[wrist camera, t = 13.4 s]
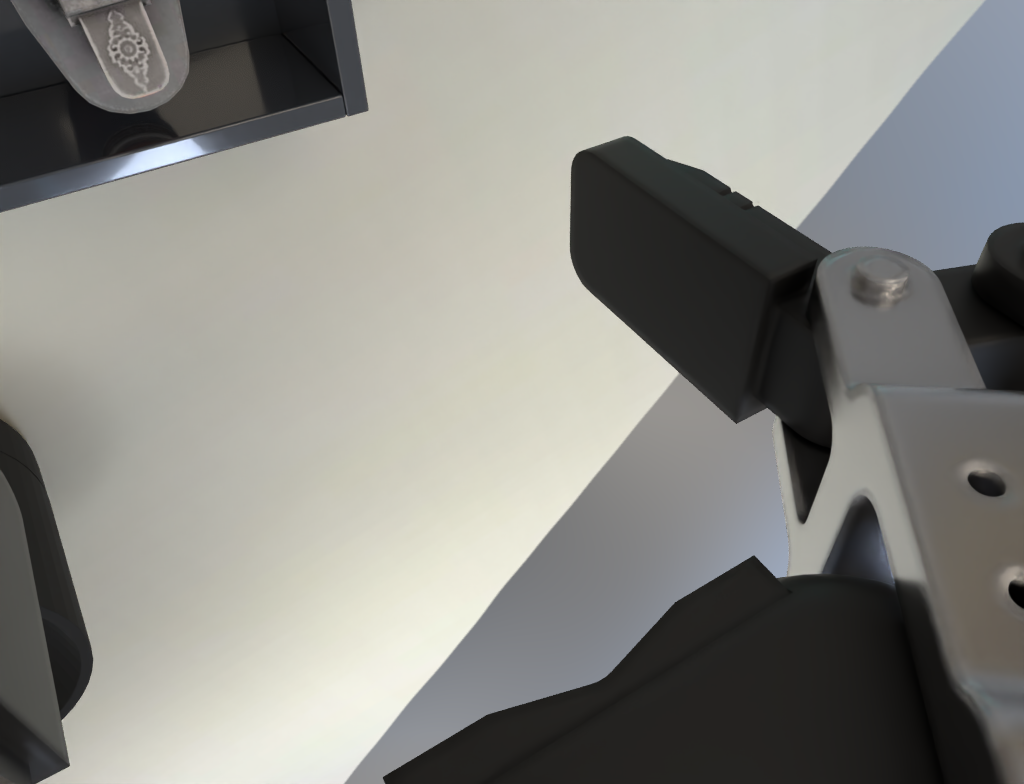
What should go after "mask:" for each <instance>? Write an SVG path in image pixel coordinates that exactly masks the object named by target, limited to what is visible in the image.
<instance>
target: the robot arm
mask: <svg viewBox="0 0 1024 784" xmlns="http://www.w3.org/2000/svg"><path fill="white" fill-rule="evenodd" d="M570 253H571V259H572V263H573V266H574V269H575V271H576V273H577V275H578V277H579V279H580V281H581V282H582V284H583V285H584V286H585V287H586V288H587V289H588V290H589V291H590V292H591V293H592V294H593V295H594V296H595V297H596V298H597V299H599V300H600V301H601V302H602V303H603V304H604V305H605V306H606V307H607V308H609V309H610V310H611V311H612V312H613V313H614V314H615V315H616V316H617V317H619V318H620V319H621V320H622V321H623V322H624V323H625V324H626V325H627V326H628V327H630V328H631V329H632V330H633V331H634V332H635V333H636V334H637V335H638V336H640V337H641V338H642V339H643V340H644V341H645V342H646V343H647V344H648V345H650V346H651V347H652V348H653V349H654V350H655V351H656V352H657V353H658V354H659V355H661V356H662V357H663V358H664V359H665V360H666V361H667V362H668V363H669V364H671V365H672V366H673V367H674V368H675V369H676V370H677V371H678V372H679V373H681V374H682V375H683V376H684V377H685V378H686V379H687V380H688V381H689V382H691V383H692V384H693V385H694V386H695V387H696V388H697V389H698V390H699V391H701V392H702V393H703V394H704V395H705V396H706V397H707V398H708V399H709V400H710V401H712V402H713V403H714V404H715V405H716V406H717V407H718V408H719V409H720V410H721V411H723V412H724V413H725V414H726V415H727V416H728V417H729V418H730V419H731V420H733V421H734V422H735V423H736V424H737V423H739V422H741V421H743V420H745V419H747V418H748V417H750V416H752V415H754V414H756V413H758V412H760V411H762V410H764V409H766V408H768V409H770V410H771V411H772V412H773V413H774V414H776V418H775V422H774V425H773V430H772V435H773V442H774V449H775V456H776V462H777V469H778V475H779V482H780V489H781V495H782V501H783V508H784V515H785V521H786V528H787V534H788V543H789V563H788V571H787V577H781V578H775V576H774V575H773V574H772V573H771V572H770V571H769V570H768V569H767V568H766V567H765V566H764V565H763V564H762V563H761V562H760V561H759V560H758V559H757V558H756V557H755V556H752V557H751V558H749V559H747V560H745V561H744V562H742V563H740V564H739V565H737V566H736V567H734V568H732V569H730V570H729V571H727V572H725V573H724V574H722V575H720V576H719V577H717V578H715V579H714V580H712V581H710V582H709V583H707V584H705V585H704V586H702V587H700V588H699V589H697V590H695V591H694V592H692V593H691V594H689V595H687V596H685V597H683V598H682V599H680V600H678V601H677V602H675V603H674V605H672V606H671V608H670V609H669V610H668V611H667V612H666V613H665V614H664V615H663V616H662V618H660V620H659V621H658V622H657V623H656V624H655V625H654V626H653V627H652V628H651V629H650V630H649V632H648V633H647V634H646V635H645V636H644V637H643V638H642V639H641V640H640V642H638V644H637V645H636V646H635V647H634V648H633V649H632V650H631V651H630V652H629V653H628V654H627V656H626V657H625V658H624V659H623V660H622V661H621V662H620V663H619V664H618V665H617V666H616V667H615V669H614V670H613V671H612V672H611V673H610V674H609V675H608V676H606V677H605V678H603V679H602V680H600V681H598V682H596V683H593V684H590V685H587V686H583V687H580V688H577V689H573V690H570V691H566V692H563V693H560V694H556V695H553V696H549V697H546V698H543V699H540V700H536V701H532V702H529V703H526V704H522V705H519V706H515V707H512V708H508V709H505V710H502V711H498V712H495V713H492V714H488V715H486V716H485V717H483V718H481V719H480V720H478V721H476V722H475V723H473V724H471V725H469V726H468V727H466V728H464V729H463V730H461V731H459V732H458V733H456V734H454V735H453V736H451V737H449V738H448V739H446V740H444V741H443V742H441V743H439V744H438V745H436V746H434V747H433V748H431V749H429V750H428V751H426V752H424V753H423V754H421V755H419V756H417V757H416V758H414V759H412V760H411V761H409V762H407V763H406V764H404V765H402V766H401V767H399V768H397V769H396V770H394V771H392V772H391V773H389V774H388V775H386V776H384V777H383V779H384V782H385V784H1024V223H1014V224H1009V225H1006V226H1002V227H1000V228H998V229H997V230H995V231H994V232H993V233H991V235H990V236H989V238H988V240H987V242H986V245H985V247H984V249H983V251H982V253H981V256H980V258H979V260H978V263H977V264H975V265H969V266H963V267H956V268H949V269H942V270H936V271H932V270H930V269H929V268H928V267H927V266H926V265H924V264H923V263H921V262H920V261H918V260H916V259H914V258H912V257H910V256H908V255H905V254H902V253H900V252H896V251H892V250H889V249H883V248H877V247H852V248H846V249H842V250H839V251H836V252H834V253H831V252H830V251H828V250H827V249H825V248H823V247H822V246H820V245H819V244H817V243H816V242H814V241H812V240H811V239H809V238H808V237H806V236H805V235H803V234H802V233H800V232H799V231H797V230H796V229H794V228H792V227H791V226H789V225H788V224H786V223H785V222H783V221H781V220H780V219H778V218H777V217H775V216H774V215H772V214H771V213H769V212H767V211H766V210H764V209H763V208H761V207H760V206H756V207H754V206H753V204H752V201H750V200H749V199H747V198H746V197H744V196H742V195H741V194H739V193H738V192H736V191H735V192H733V193H732V192H731V188H730V187H728V186H727V185H725V184H724V183H722V182H721V181H719V180H717V179H716V178H714V177H713V176H711V175H710V174H708V173H707V172H705V171H703V170H700V169H697V168H694V167H691V166H688V165H684V164H681V163H678V162H675V161H672V160H669V159H665V158H664V157H662V156H661V155H659V154H658V153H656V152H655V151H653V150H652V149H650V148H648V147H647V146H645V145H644V144H642V143H641V142H639V141H638V140H636V139H634V138H632V137H629V136H624V137H621V138H618V139H615V140H613V141H610V142H607V143H604V144H601V145H598V146H595V147H592V148H589V149H586V150H583V151H581V152H579V153H577V154H576V156H575V157H574V160H573V162H572V167H571V212H570ZM69 766H70V764H69V759H68V753H67V748H66V743H65V738H64V732H63V727H62V722H61V717H60V712H59V706H58V701H57V696H56V691H55V685H54V680H53V675H52V670H51V665H50V659H49V654H48V649H47V644H46V638H45V633H44V628H43V623H42V618H41V612H40V607H39V602H38V597H37V591H36V586H35V581H34V576H33V571H32V565H31V560H30V555H29V550H28V544H27V539H26V534H25V529H24V524H23V519H22V515H21V511H20V508H19V505H18V503H17V500H16V498H15V495H14V493H13V491H12V489H11V487H10V485H9V483H8V481H7V480H6V478H5V476H4V474H3V473H2V471H1V470H0V784H36V783H38V782H40V781H42V780H44V779H46V778H48V777H50V776H52V775H53V774H55V773H57V772H59V771H61V770H63V769H65V768H67V767H69Z"/></svg>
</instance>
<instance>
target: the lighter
mask: <svg viewBox="0 0 1024 784" xmlns="http://www.w3.org/2000/svg"><path fill="white" fill-rule="evenodd" d="M11 2H12V3H13V5H14V7H15V8H16V10H17V12H18V13H19V15H20V17H21V18H22V20H23V22H24V23H25V25H26V26H27V27H28V29H29V30H30V31H31V33H32V34H33V35H34V37H35V38H36V39H37V41H38V42H39V43H40V44H41V46H42V47H43V48H44V50H45V51H46V52H47V54H48V55H49V56H50V58H51V59H52V60H53V62H54V63H55V64H56V65H57V67H58V68H59V69H60V71H61V72H62V73H63V75H64V76H65V77H66V79H67V80H68V81H69V82H70V84H71V85H72V86H73V88H74V89H75V90H76V91H77V92H78V93H79V94H80V95H81V96H82V97H84V98H85V99H86V100H87V101H88V102H89V103H91V104H93V105H95V106H98V107H100V108H102V109H105V110H107V111H110V112H118V113H127V114H132V113H138V112H144V111H150V110H152V109H154V108H156V107H158V106H160V105H162V104H164V103H166V102H168V101H169V100H170V99H171V98H172V97H173V96H174V95H175V94H176V93H177V92H178V91H179V90H180V89H181V88H182V86H183V84H184V82H185V79H186V77H187V75H188V73H189V50H188V44H187V39H186V34H185V28H184V23H183V17H182V12H181V7H180V1H179V0H11Z"/></svg>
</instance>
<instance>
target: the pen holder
mask: <svg viewBox="0 0 1024 784" xmlns="http://www.w3.org/2000/svg"><path fill="white" fill-rule="evenodd" d="M0 470H1V471H2V473H3V474H4V476H5V478H6V480H7V481H8V483H9V485H10V487H11V489H12V491H13V493H14V495H15V498H16V500H17V503H18V505H19V508H20V511H21V515H22V519H23V524H24V529H25V534H26V539H27V544H28V550H29V555H30V560H31V565H32V571H33V576H34V581H35V586H36V591H37V597H38V602H39V607H40V612H41V618H42V623H43V628H44V633H45V638H46V644H47V649H48V654H49V659H50V665H51V670H52V675H53V680H54V685H55V691H56V696H57V701H58V706H59V712H60V717H61V720H62V719H63V718H64V717H65V716H66V715H67V714H68V713H69V712H70V711H71V710H72V709H73V707H74V706H75V705H76V703H77V702H78V700H79V699H80V698H81V696H82V695H83V693H84V691H85V689H86V687H87V685H88V683H89V679H90V676H91V673H92V666H93V656H92V650H91V645H90V641H89V638H88V634H87V631H86V627H85V624H84V620H83V617H82V613H81V610H80V606H79V603H78V599H77V595H76V592H75V588H74V585H73V581H72V578H71V574H70V571H69V567H68V564H67V560H66V557H65V553H64V550H63V546H62V543H61V539H60V536H59V532H58V528H57V525H56V521H55V518H54V514H53V511H52V507H51V504H50V501H49V498H48V495H47V492H46V489H45V485H44V482H43V479H42V476H41V473H40V470H39V467H38V464H37V461H36V459H35V457H34V454H33V452H32V450H31V448H30V447H29V445H28V444H27V442H26V441H25V440H24V438H23V437H22V436H21V435H20V434H19V433H18V432H17V431H16V430H15V429H13V428H12V427H11V426H9V425H8V424H7V423H5V422H4V421H2V420H0Z"/></svg>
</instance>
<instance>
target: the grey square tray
mask: <svg viewBox="0 0 1024 784" xmlns="http://www.w3.org/2000/svg"><path fill="white" fill-rule="evenodd" d="M179 1H180V7H181V12H182V17H183V23H184V28H185V34H186V39H187V44H188V50H189V73H188V75H187V77H186V79H185V82H184V84H183V86H182V88H181V89H180V90H179V91H178V92H177V93H176V94H175V95H174V96H173V97H172V98H171V99H170V100H169V101H168V102H166V103H164V104H162V105H160V106H158V107H156V108H154V109H152V110H150V111H144V112H138V113H132V114H127V113H118V112H110V111H107V110H105V109H102V108H100V107H98V106H95V105H93V104H91V103H89V102H88V101H87V100H86V99H85V98H84V97H82V96H81V95H80V94H79V93H78V92H77V91H76V90H75V89H74V88H73V86H72V85H71V84H70V82H69V81H68V80H67V79H66V77H65V76H64V75H63V73H62V72H61V71H60V69H59V68H58V67H57V65H56V64H55V63H54V62H53V60H52V59H51V58H50V56H49V55H48V54H47V52H46V51H45V50H44V48H43V47H42V46H41V44H40V43H39V42H38V41H37V39H36V38H35V37H34V35H33V34H32V33H31V31H30V30H29V29H28V27H27V26H26V25H25V23H24V22H23V20H22V18H21V17H20V15H19V13H18V12H17V10H16V8H15V7H14V5H13V3H12V2H11V0H0V213H1V212H4V211H8V210H11V209H15V208H19V207H22V206H26V205H29V204H33V203H37V202H40V201H44V200H47V199H51V198H55V197H58V196H62V195H66V194H69V193H73V192H76V191H80V190H84V189H87V188H91V187H94V186H98V185H102V184H105V183H109V182H112V181H116V180H120V179H123V178H127V177H130V176H134V175H138V174H141V173H145V172H148V171H152V170H156V169H159V168H163V167H166V166H170V165H174V164H177V163H181V162H184V161H188V160H192V159H195V158H199V157H203V156H206V155H210V154H213V153H217V152H221V151H224V150H228V149H231V148H235V147H239V146H242V145H246V144H249V143H253V142H257V141H260V140H264V139H267V138H271V137H275V136H278V135H282V134H285V133H289V132H293V131H296V130H300V129H303V128H307V127H311V126H314V125H318V124H322V123H325V122H329V121H332V120H336V119H340V118H343V117H345V116H346V115H347V116H352V115H355V114H359V113H362V112H366V111H368V103H367V96H366V90H365V84H364V78H363V72H362V65H361V59H360V53H359V47H358V40H357V34H356V28H355V22H354V16H353V9H352V3H351V0H179Z"/></svg>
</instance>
